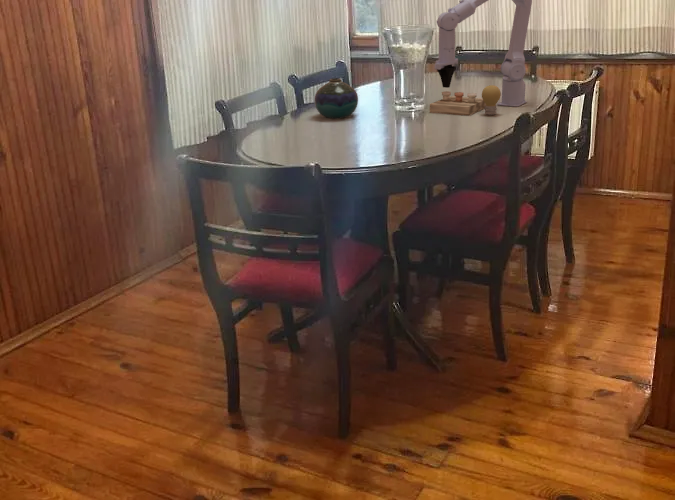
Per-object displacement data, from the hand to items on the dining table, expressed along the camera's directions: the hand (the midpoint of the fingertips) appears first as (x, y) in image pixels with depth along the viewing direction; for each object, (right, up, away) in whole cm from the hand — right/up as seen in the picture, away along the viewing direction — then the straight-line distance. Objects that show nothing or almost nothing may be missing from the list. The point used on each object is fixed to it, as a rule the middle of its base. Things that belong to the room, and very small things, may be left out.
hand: (446, 87), depth 265 cm
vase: (-39, -11, -2) cm, 41 cm away
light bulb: (+14, -12, -9) cm, 20 cm away
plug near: (+9, -6, -4) cm, 11 cm away
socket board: (+5, -8, 0) cm, 9 cm away
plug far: (0, -4, +2) cm, 4 cm away
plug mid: (+4, -5, -1) cm, 7 cm away
